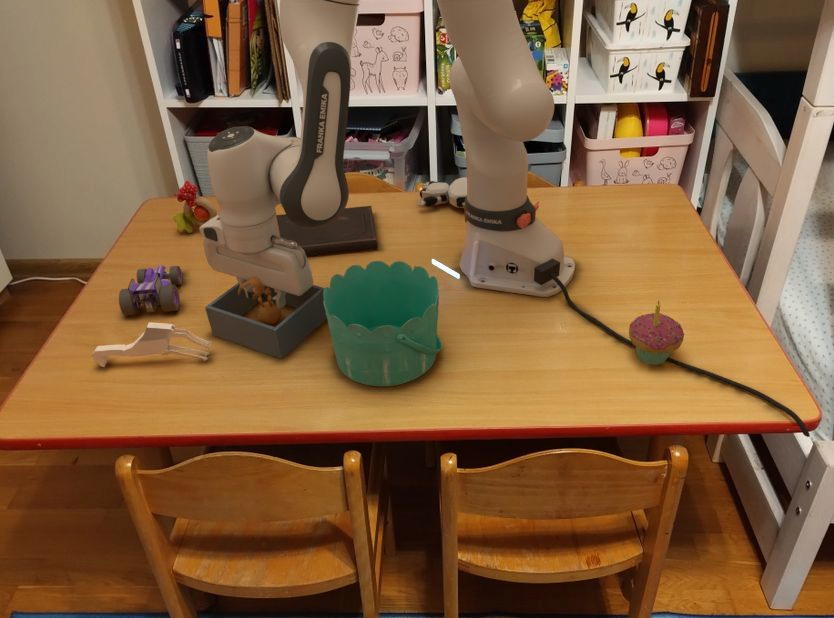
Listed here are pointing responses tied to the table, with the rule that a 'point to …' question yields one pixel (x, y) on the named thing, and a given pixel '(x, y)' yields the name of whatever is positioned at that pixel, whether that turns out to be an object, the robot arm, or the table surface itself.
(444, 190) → the robot toy
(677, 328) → the cupcake
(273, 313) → the figurine
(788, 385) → the table surface
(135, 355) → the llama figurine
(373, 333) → the basket
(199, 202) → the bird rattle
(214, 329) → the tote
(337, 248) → the hardcover book
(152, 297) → the toy race car
